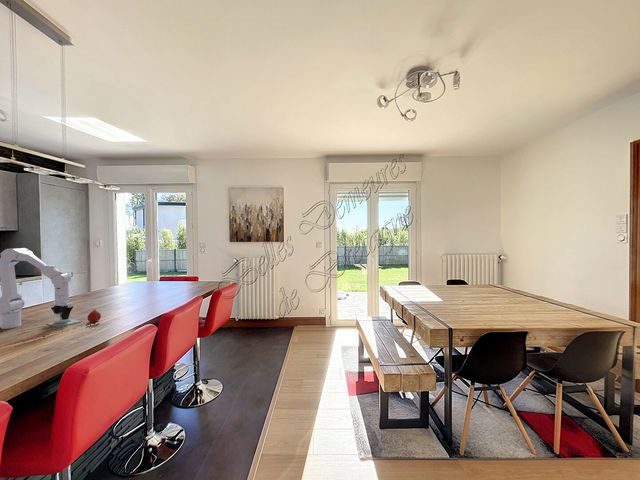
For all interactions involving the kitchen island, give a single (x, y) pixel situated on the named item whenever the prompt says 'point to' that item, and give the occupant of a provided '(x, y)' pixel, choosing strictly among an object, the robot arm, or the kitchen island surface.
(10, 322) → the robot arm
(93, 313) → the onion
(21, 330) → the brown square plate
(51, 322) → the hole plate
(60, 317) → the steel peg
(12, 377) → the kitchen island surface
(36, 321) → the kitchen island surface
